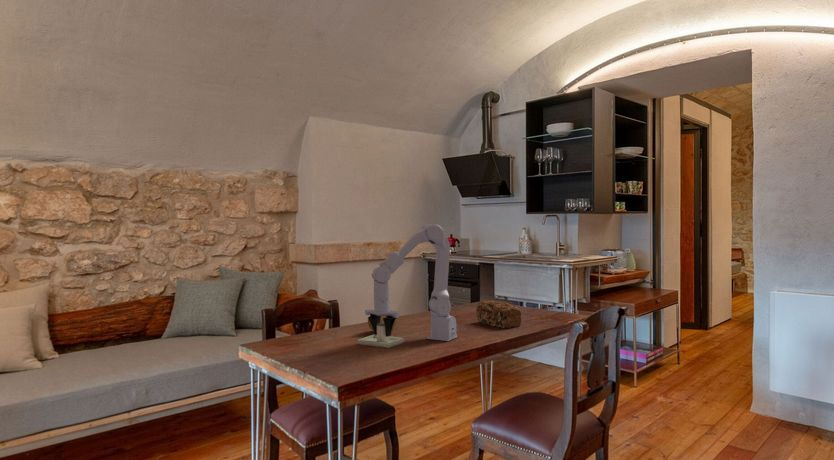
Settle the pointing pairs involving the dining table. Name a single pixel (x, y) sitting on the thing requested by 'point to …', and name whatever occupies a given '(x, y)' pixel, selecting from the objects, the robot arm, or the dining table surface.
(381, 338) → the shaker
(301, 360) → the dining table surface
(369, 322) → the potato
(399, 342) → the tray
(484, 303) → the bread
